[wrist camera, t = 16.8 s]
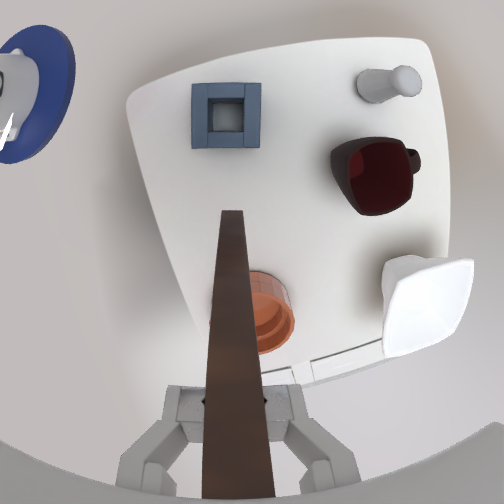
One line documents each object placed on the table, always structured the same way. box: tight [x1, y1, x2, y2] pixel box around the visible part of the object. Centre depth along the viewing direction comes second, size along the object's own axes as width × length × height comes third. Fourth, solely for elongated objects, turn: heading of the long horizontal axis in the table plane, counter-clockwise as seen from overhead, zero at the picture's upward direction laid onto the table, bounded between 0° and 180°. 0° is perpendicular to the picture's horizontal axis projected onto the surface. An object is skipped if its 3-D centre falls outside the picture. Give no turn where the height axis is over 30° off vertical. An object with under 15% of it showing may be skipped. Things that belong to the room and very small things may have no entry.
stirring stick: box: [202, 210, 276, 500], centre depth 16 cm, size 2×2×24 cm
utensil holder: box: [191, 83, 261, 149], centre depth 34 cm, size 8×8×8 cm
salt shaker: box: [357, 65, 422, 103], centre depth 30 cm, size 6×6×13 cm
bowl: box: [381, 255, 474, 358], centre depth 45 cm, size 19×19×14 cm
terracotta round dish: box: [209, 272, 295, 355], centre depth 49 cm, size 14×14×7 cm
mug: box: [331, 137, 421, 216], centre depth 36 cm, size 10×14×12 cm
